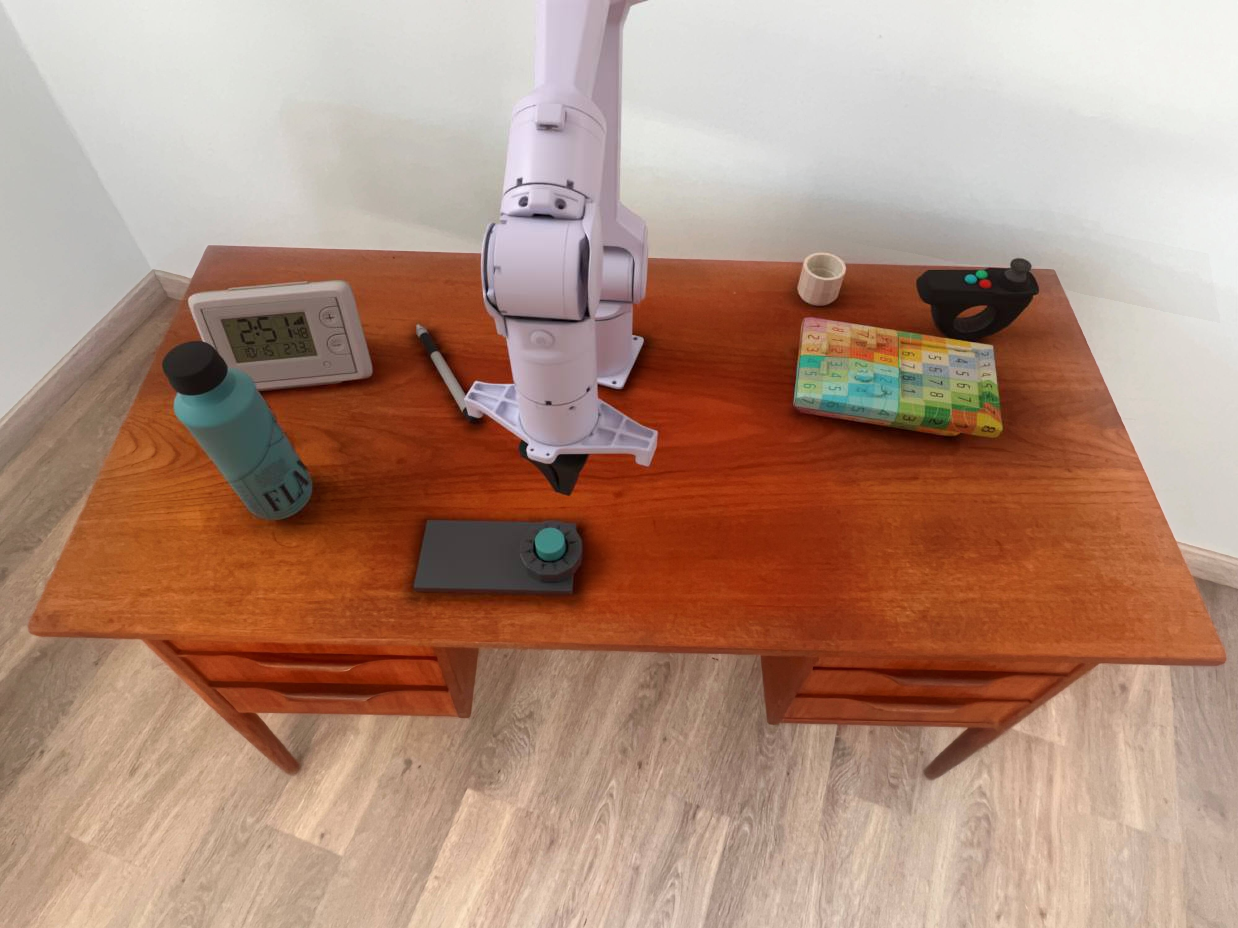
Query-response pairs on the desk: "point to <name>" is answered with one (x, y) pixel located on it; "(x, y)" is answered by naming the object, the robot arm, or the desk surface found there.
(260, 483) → the beverage bottle
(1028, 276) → the controller
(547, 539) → the tare button
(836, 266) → the white cup
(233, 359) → the digital clock
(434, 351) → the pen
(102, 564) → the desk surface
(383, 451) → the desk surface
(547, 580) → the grey dial base
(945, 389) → the puzzle game
